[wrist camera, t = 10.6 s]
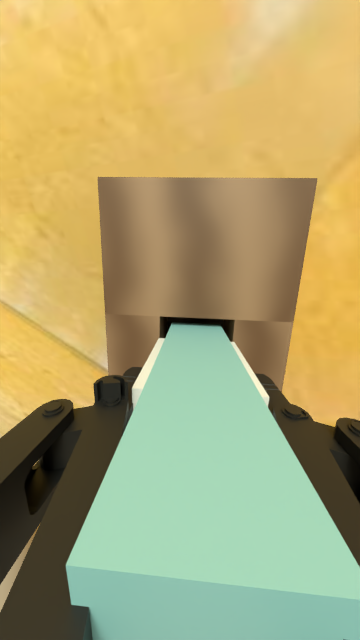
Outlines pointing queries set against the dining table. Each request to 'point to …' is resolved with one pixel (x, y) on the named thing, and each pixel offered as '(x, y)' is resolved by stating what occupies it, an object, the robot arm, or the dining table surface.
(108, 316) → the hole board
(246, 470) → the peg
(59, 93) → the dining table surface
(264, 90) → the dining table surface
